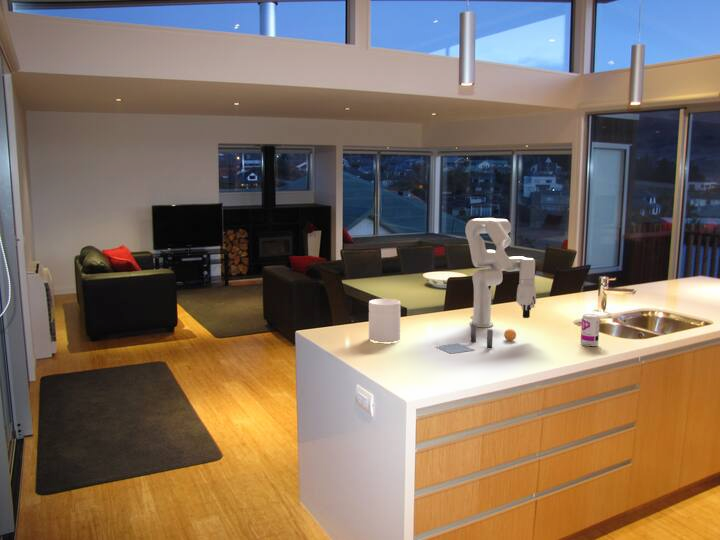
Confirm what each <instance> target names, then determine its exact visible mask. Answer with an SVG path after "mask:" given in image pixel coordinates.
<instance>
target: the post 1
mask: <svg viewBox="0 0 720 540" xmlns="http://www.w3.org/2000/svg"><path fill="white" fill-rule="evenodd" d="M476 342H477V327H476V324H471V325H470V343H476Z"/></svg>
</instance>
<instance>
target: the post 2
mask: <svg viewBox="0 0 720 540" xmlns="http://www.w3.org/2000/svg"><path fill="white" fill-rule="evenodd" d="M493 331H494V330H493V329H491V328H490V329H489V328H488V329H487V331H486V332H487V333H486V349H488V348H491V349H493V336H494V335H493V334H494V333H493Z"/></svg>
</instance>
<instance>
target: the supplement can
mask: <svg viewBox="0 0 720 540" xmlns="http://www.w3.org/2000/svg"><path fill="white" fill-rule="evenodd" d="M600 319H601V318H600V317H599V315H597V314H592V313H585V314H583V315H582V318H581V328H580V329H581V330H580V334H581V335H580V344H581V345H582V346H583V345H585V346H584V347H587V346H596V347H597V346H598V345H599V338H600V335H599V334H600V322H601V321H600Z"/></svg>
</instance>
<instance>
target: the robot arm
mask: <svg viewBox="0 0 720 540" xmlns="http://www.w3.org/2000/svg"><path fill="white" fill-rule="evenodd" d="M511 231H512V224H511V223H510V221H509V220H508V219H506V218H498V217H497V218H495V217H483V218H482V217H481V218H480V217H478V218H472V219H470V220H468V221H467V223H466V225H465V231H464V232H465V236H466V239H467V242H468V246H469V250H470V251H469V252H470V256H471V262H472V264H473V266H474V267H475V268H481V269H478V270H475V272H473V274H472V278H471V279H472V284H473V310H472V311H473V315H472V316H470V317H469V318H470V319H471V320H472V321H471V322H470V326H471V324H476V328H491V327H493V326H494V323H493V322H492V321H491V314H492V313H491V312H492V311H491V310H492V308H491V307H492V292H491V290H490V288H489V286H491V287H492V286H499V285H500V284H501V283H502V282H503V279H504V278H503V271H505V272H508V273H510V272H519V279H518V280H519V281H518V283H519V284H518V285H517V289H516V303H517V304H518V305H519V306H520V307H521V310H522V318H523V319H530V316H531V310H532V308H535V305H536V304H537V303H536V302H537V292H536V285H535V281H536V279H535V278H536V276H535V275H536V259H534V258H533V257H525V256H522V255H521V256H520V255H518V256H509V255H508V254H507V253H506V251H505V249H506V248H507V247H509V246H510V245H511V243H512V239H511V237H510V235H509V233H510V232H511ZM480 234H488V236H489V237H490V239H491V240H492V242H493V243H494V245H495V247H496V248H495V249H486V244H485V240H484V239H483V238H482V236H481V235H480ZM482 268H483V269H482Z"/></svg>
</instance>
